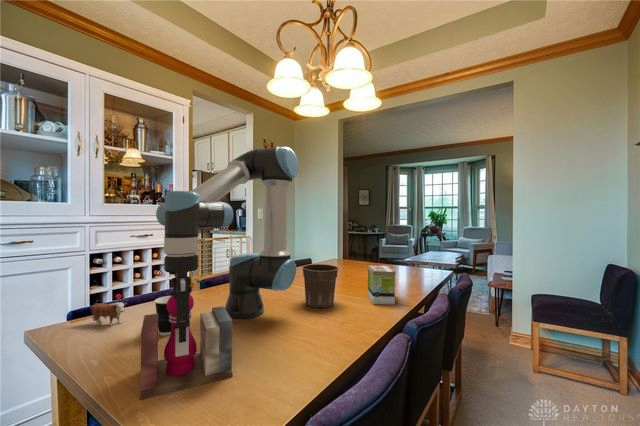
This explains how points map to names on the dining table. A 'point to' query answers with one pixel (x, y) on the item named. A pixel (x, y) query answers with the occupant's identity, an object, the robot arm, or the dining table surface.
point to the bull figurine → (107, 312)
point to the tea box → (381, 284)
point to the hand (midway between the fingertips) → (180, 345)
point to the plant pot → (320, 284)
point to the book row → (208, 362)
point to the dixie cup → (163, 316)
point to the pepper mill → (174, 363)
